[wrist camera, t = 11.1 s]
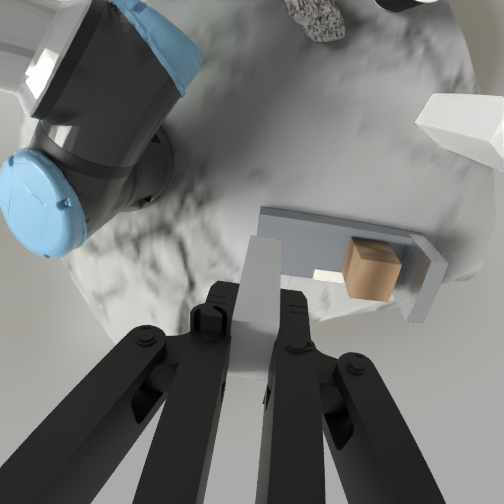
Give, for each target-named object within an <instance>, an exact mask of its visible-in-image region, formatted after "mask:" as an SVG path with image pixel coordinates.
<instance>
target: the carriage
mask: <svg viewBox="0 0 504 504" xmlns="http://www.w3.org/2000/svg"><path fill="white" fill-rule="evenodd" d="M401 266H402V264H401V263H400V261H399V260H398V258H397V257H396V255H395V254H394V252H393V251H392V249H391V248H390V246H389V245H388V243H385V242H379V241H373V240H367V239H361V238H355V237H351V239H350V243H349V246H348V250H347V254H346V258H345V261H344V265H343V269H342V275H343V278H344V281H345V285H346V288H347V291H348V295H349V298H357V299H366V300H375V301H384V302H388V301H389V299H390V296H391V294H392V291H393V288H394V286H395V283H396V280H397V278H398V275H399V272H400V269H401Z"/></svg>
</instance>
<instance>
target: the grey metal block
mask: <svg viewBox="0 0 504 504" xmlns="http://www.w3.org/2000/svg"><path fill="white" fill-rule="evenodd" d="M410 236H411V237H412V238H413V241H412V244H411V245H409V244H405V247H404V250H403V253H402V256H401V259H400V263H401V264H402V266H401V269H400V272H399V275H398V278H397V280H396V283H395V286H394V288H393V291H392V293H393V295H394V297H395V299H396V301H397V304H398V306H399V308H400V310H401V312H402V314H403V316H404V318H405V320H406V322H414V323H423V322H424V320H425V317H426V315H427V313H428V311H429V309H430V307H431V305H432V303H433V300H434V298H435V296H436V294H437V291H438V289H439V287H440V284H441V282H442V280H443V277H444V275H445V272H446V270H447V267H448V265H449V264H448V262H447V261H446V260H445V259H444V258H443V257H442V255H441V254H440V253H439V252H438V251H437V250H436V249H435V248H434V246H433V245H432V244H431V243H430V242H429V241H428V240H427V239H426V238H425V237H424V236H419V235H414V234H410Z"/></svg>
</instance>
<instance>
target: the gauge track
mask: <svg viewBox="0 0 504 504" xmlns="http://www.w3.org/2000/svg"><path fill="white" fill-rule="evenodd" d="M410 234H414V235H419V236H423V234H422V233H417V232H412V231H406V230H401V229H396V228H390V227H385V226H380V225H374V224H368V223H363V222H357V221H351V220H345V219H339V218H333V217H327V216H320V215H314V214H307V213H301V212H294V211H287V210H280V209H273V208H266V207H261V209H260V214H259V224H258V232H257V236H258V237H265V238H273V239H280V240H281V274H283V275H290V276H298V277H305V278H313V279H315V280H323V281H331V282H338V283H345V281H344V278H343V275H342V269H343V265H344V261H345V258H346V254H347V250H348V246H349V243H350V239H351V237H355V238H361V239H367V240H373V241H379V242H385V243H388V245H389V246H390V248H391V249H392V251H393V252H394V254H395V255H396V257H397V258H398V260H399V261H400V259H401V256H402V253H403V250H404V247H405V244H409V245H411V244H412V241H413V238H412V237H411V236H410Z"/></svg>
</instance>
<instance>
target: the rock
mask: <svg viewBox="0 0 504 504" xmlns="http://www.w3.org/2000/svg"><path fill="white" fill-rule="evenodd" d="M283 2H284V4H285V6H286V9H287V12H288V15H289V16H290V17H291V18H293V19H294V20H295V22H296V23H297V24H298V25H299V26H300V27H301V28H302V29H303V30H304V32H305V33H306V35H307V36H308V37H309V38H310V39H312V41H314V42H330V41H335V40H338V39H340V38H343V37H344V35H345V28H346V27H345V22H344V20H343V16H342V14H341V13H340V11H339V8H338V6H337V4H336V3H335V2H334V0H283Z"/></svg>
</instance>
